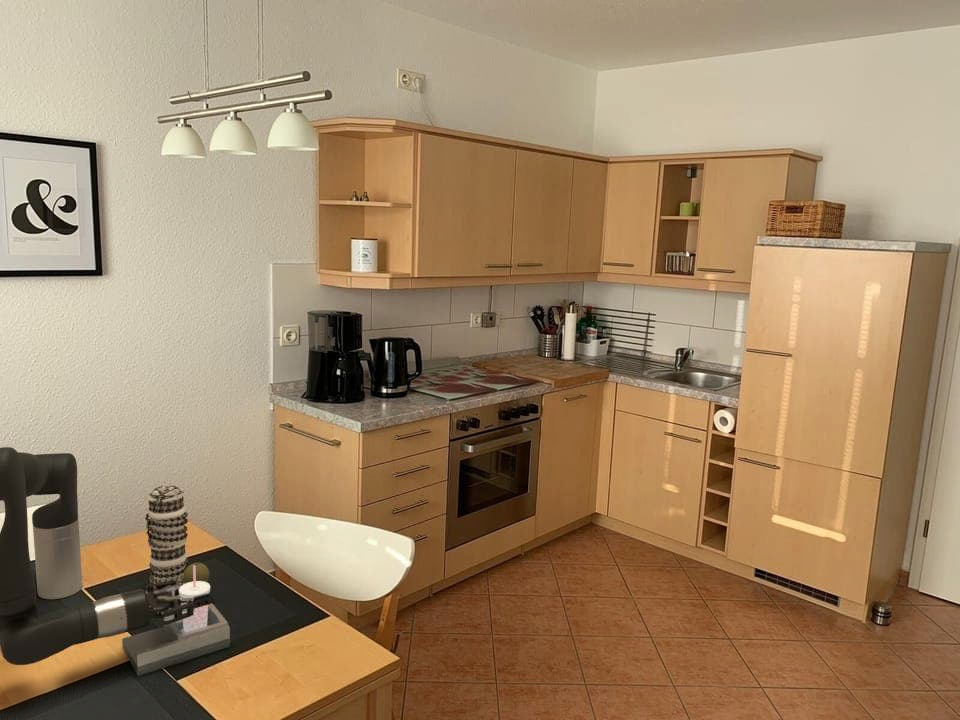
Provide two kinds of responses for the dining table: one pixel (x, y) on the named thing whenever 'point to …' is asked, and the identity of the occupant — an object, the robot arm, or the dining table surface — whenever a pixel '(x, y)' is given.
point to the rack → (176, 643)
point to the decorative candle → (167, 534)
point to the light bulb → (201, 573)
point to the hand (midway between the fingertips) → (206, 591)
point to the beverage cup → (199, 613)
